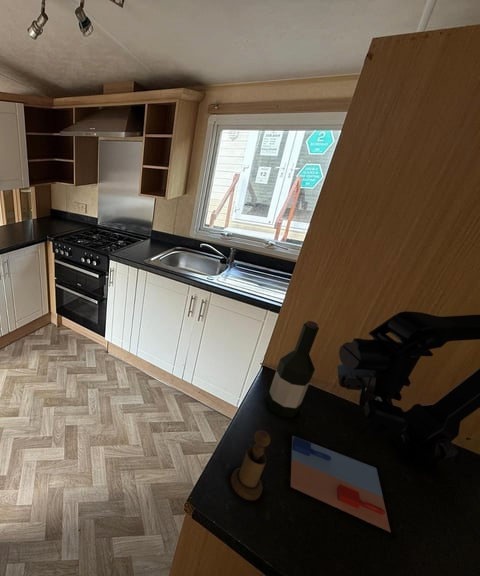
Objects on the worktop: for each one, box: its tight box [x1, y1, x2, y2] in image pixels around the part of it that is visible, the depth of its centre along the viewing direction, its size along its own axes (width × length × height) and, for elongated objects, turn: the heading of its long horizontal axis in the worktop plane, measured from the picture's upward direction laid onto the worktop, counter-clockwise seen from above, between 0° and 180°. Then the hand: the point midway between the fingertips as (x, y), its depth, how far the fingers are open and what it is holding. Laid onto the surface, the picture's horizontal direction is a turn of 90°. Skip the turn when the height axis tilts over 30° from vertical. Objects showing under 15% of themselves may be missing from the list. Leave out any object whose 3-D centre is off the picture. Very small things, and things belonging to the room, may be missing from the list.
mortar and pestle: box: [230, 429, 272, 501], centre depth 69 cm, size 7×6×18 cm
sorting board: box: [290, 435, 392, 533], centre depth 74 cm, size 18×16×1 cm
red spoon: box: [337, 484, 385, 515], centre depth 68 cm, size 8×3×2 cm, turn 59°
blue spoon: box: [293, 436, 331, 461], centre depth 79 cm, size 8×3×2 cm, turn 59°
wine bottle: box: [265, 320, 320, 418], centre depth 87 cm, size 8×8×30 cm
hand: (364, 418), depth 74 cm, fingers open, 9 cm apart
